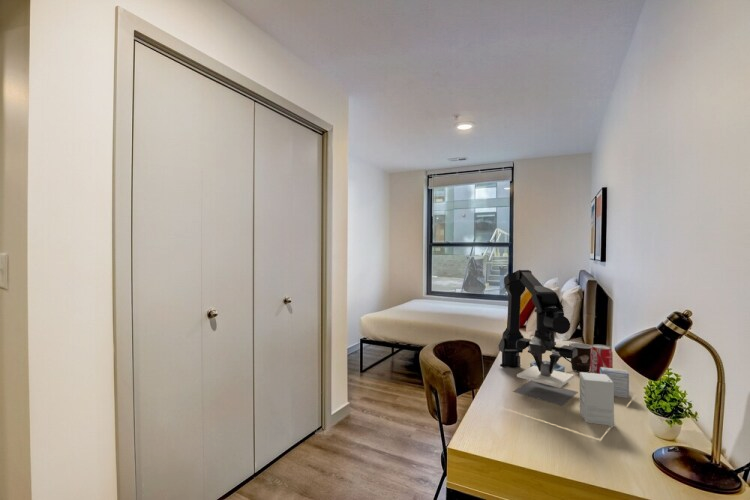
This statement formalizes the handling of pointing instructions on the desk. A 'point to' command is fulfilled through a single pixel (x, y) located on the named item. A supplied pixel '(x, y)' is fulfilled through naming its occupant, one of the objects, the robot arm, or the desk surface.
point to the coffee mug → (581, 357)
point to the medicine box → (618, 380)
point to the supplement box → (597, 398)
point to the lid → (546, 375)
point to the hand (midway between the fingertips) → (545, 372)
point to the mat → (546, 392)
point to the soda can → (600, 358)
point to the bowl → (557, 368)
